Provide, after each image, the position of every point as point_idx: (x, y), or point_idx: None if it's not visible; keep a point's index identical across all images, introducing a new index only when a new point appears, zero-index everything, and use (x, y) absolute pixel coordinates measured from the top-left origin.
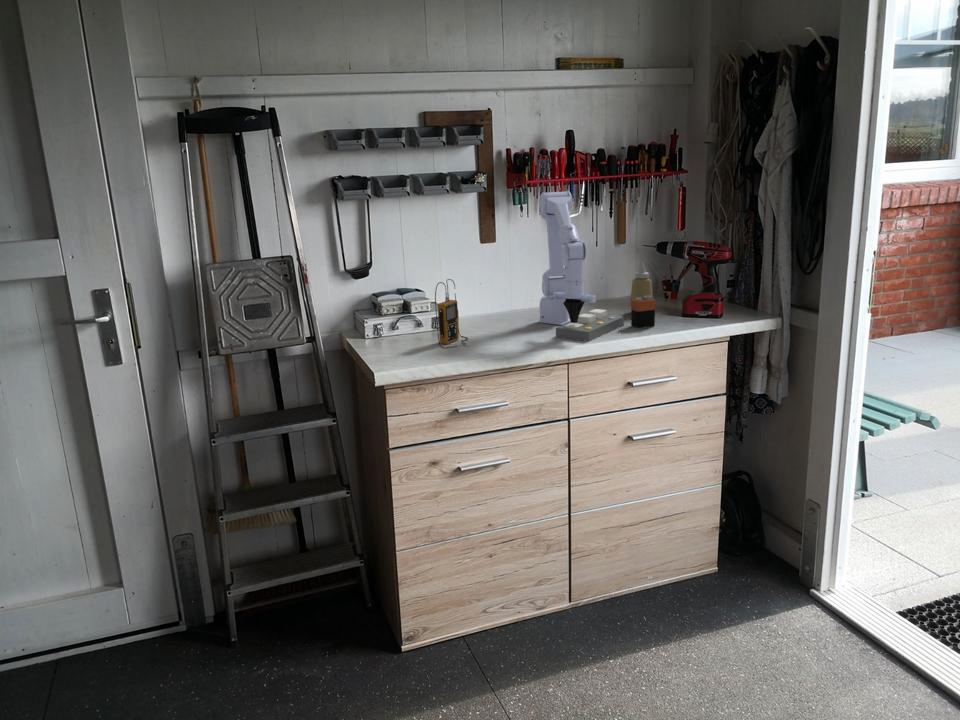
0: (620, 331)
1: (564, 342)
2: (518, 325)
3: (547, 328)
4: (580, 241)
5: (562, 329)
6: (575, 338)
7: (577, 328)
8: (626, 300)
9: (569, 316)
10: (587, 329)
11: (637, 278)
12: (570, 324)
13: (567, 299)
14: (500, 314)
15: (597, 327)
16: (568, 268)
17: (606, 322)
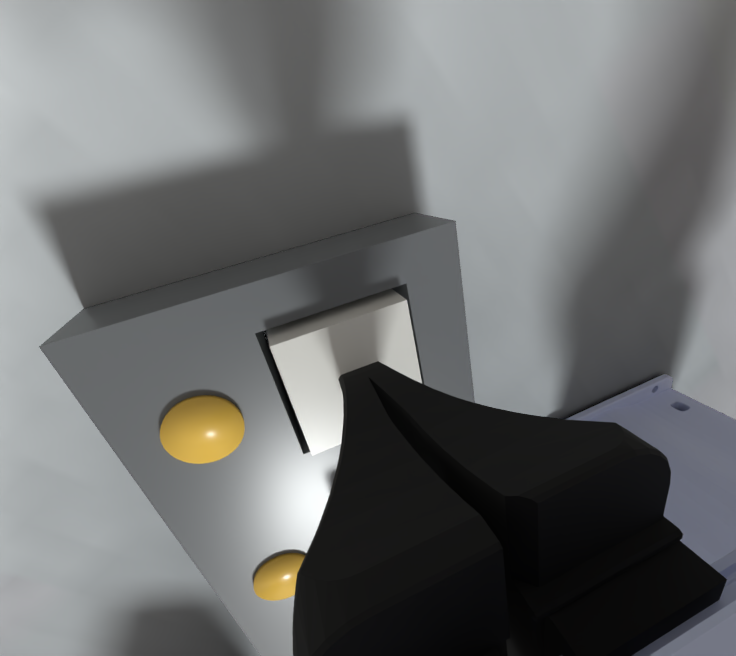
0: (198, 610)
1: (214, 108)
2: (730, 259)
3: (578, 332)
4: None
5: (379, 240)
6: (231, 268)
7: (272, 350)
8: None
9: (414, 381)
10: (166, 399)
11: None
12: (393, 364)
13: (668, 591)
14: None
15: (170, 505)
16: None
17: (265, 613)
